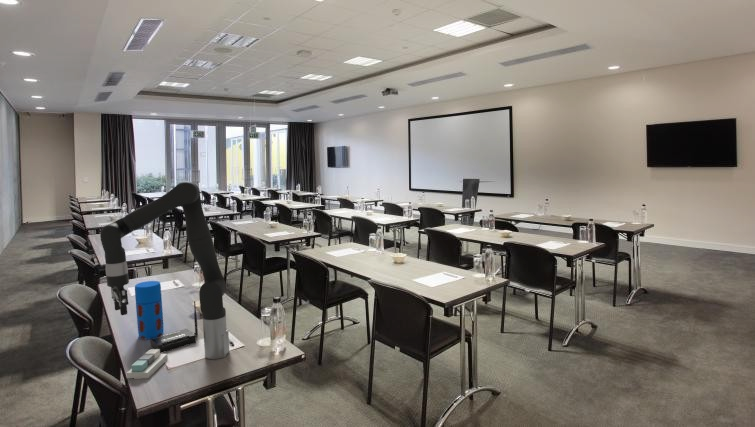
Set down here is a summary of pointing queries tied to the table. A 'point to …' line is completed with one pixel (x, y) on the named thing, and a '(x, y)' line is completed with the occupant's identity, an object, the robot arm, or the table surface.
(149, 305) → the thermos
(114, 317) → the table surface
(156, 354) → the key
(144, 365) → the key
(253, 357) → the table surface
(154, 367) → the keypad
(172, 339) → the black wifi router
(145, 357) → the key
